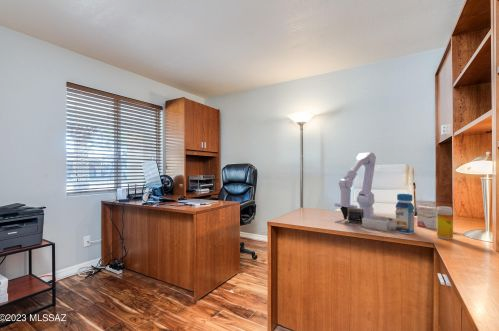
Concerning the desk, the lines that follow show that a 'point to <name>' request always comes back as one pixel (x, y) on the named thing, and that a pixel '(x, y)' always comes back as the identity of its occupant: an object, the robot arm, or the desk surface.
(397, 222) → the blue pill bottle
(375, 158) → the robot arm
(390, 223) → the bracket
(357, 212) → the electrical switch
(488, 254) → the desk surface
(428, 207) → the ink cartridge box
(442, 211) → the white lidded yellow container
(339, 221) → the long thin gray rod
